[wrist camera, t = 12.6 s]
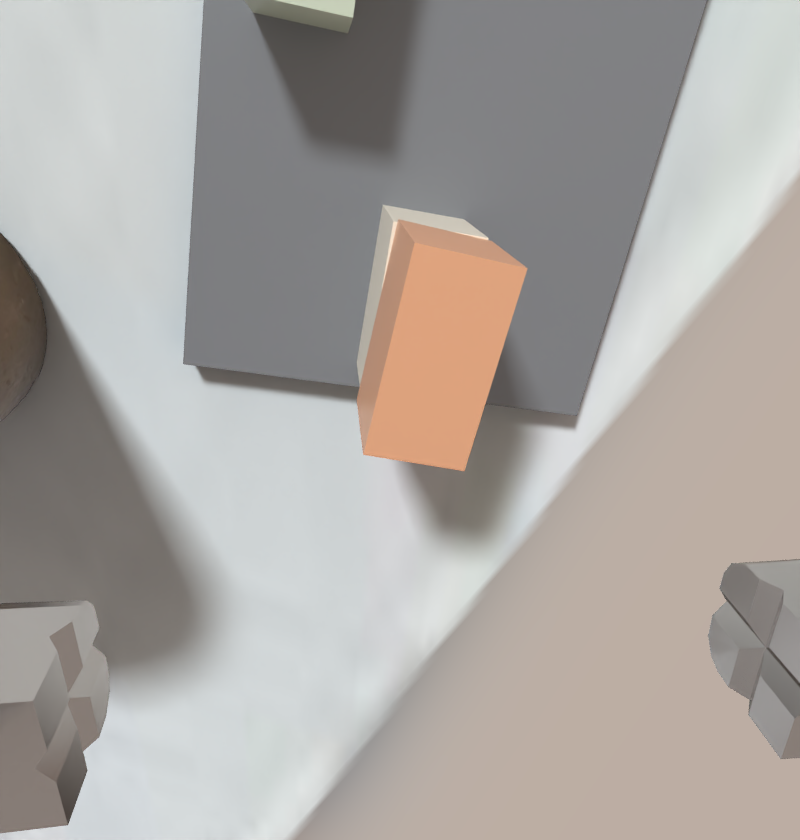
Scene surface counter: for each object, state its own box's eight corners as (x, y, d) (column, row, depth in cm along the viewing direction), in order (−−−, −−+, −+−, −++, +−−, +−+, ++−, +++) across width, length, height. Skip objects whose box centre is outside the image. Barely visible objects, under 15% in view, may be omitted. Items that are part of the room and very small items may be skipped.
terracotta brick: (442, 414, 23) (464, 471, 19) (356, 399, 23) (363, 454, 19) (491, 241, 21) (527, 268, 17) (398, 218, 20) (414, 242, 17)
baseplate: (567, 404, 29) (576, 415, 28) (188, 353, 27) (183, 364, 26) (741, -167, 21) (764, -182, 20) (229, -322, 19) (223, -348, 18)
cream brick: (431, 373, 27) (448, 413, 23) (356, 362, 26) (362, 403, 23) (463, 219, 24) (488, 238, 21) (382, 204, 24) (393, 221, 20)
